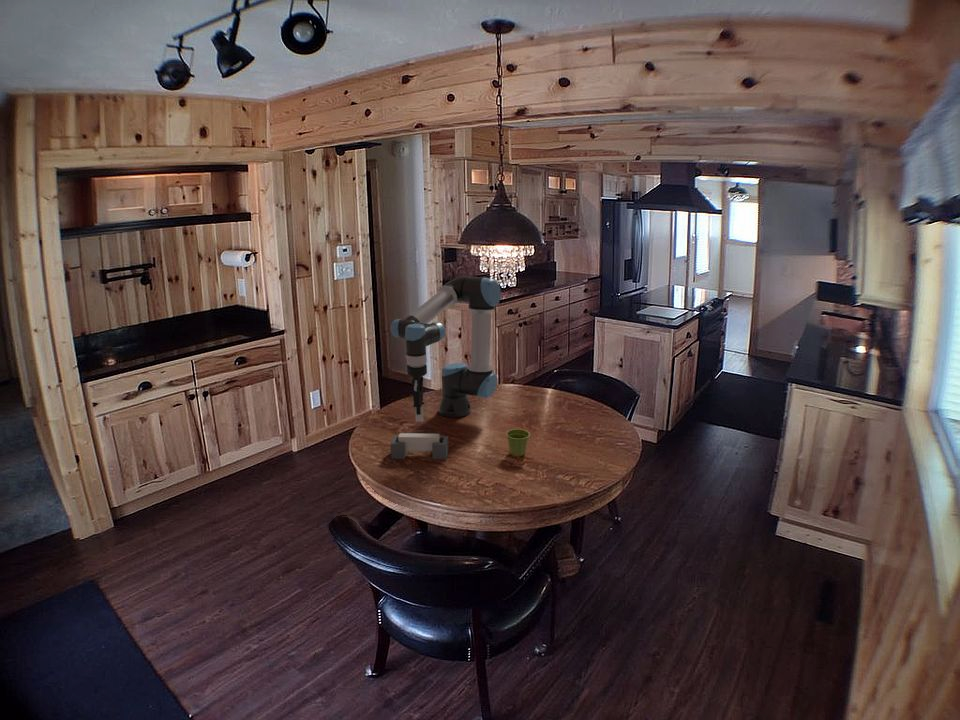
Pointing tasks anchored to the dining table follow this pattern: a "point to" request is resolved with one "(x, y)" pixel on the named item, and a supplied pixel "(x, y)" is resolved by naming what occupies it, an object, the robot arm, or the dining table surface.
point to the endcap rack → (437, 448)
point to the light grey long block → (418, 441)
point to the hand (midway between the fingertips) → (419, 420)
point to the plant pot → (517, 441)
